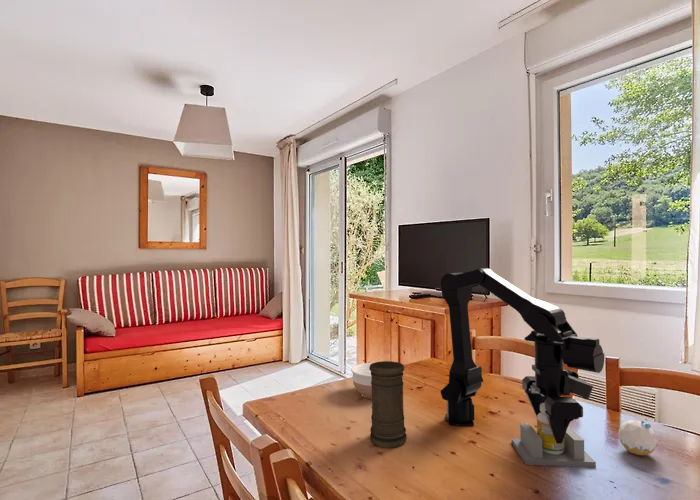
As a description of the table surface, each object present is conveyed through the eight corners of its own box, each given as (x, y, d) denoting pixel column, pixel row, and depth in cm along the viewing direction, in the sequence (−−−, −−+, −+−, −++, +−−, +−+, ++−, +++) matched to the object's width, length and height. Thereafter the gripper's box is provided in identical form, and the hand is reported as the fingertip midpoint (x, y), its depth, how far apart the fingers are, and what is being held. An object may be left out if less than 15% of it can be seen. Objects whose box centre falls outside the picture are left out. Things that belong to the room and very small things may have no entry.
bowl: (369, 382, 142) (368, 360, 142) (409, 390, 132) (409, 366, 133) (341, 395, 129) (341, 370, 129) (384, 405, 119) (384, 379, 120)
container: (382, 451, 91) (381, 372, 92) (363, 436, 99) (361, 363, 100) (414, 442, 96) (413, 366, 96) (393, 428, 103) (392, 358, 104)
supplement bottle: (561, 457, 85) (560, 412, 85) (534, 450, 89) (533, 406, 89) (566, 448, 89) (565, 405, 90) (541, 441, 93) (540, 399, 93)
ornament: (617, 455, 88) (616, 418, 88) (621, 443, 94) (620, 408, 94) (655, 465, 84) (654, 426, 84) (657, 452, 89) (656, 415, 89)
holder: (526, 464, 85) (525, 440, 85) (511, 442, 95) (511, 421, 95) (595, 466, 83) (595, 442, 83) (573, 444, 93) (573, 422, 93)
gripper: (610, 376, 79) (612, 455, 79) (568, 353, 98) (569, 417, 98) (551, 375, 80) (553, 453, 80) (520, 352, 99) (522, 416, 99)
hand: (550, 433), depth 89 cm, fingers open, 9 cm apart
